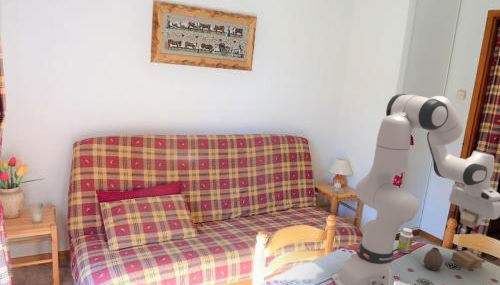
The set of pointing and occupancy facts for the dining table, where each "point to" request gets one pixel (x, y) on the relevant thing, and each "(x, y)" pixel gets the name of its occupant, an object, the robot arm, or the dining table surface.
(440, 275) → the dining table surface
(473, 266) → the walnut block
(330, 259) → the dining table surface
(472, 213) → the maple cube
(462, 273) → the dining table surface
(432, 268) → the vase
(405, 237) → the supplement bottle
